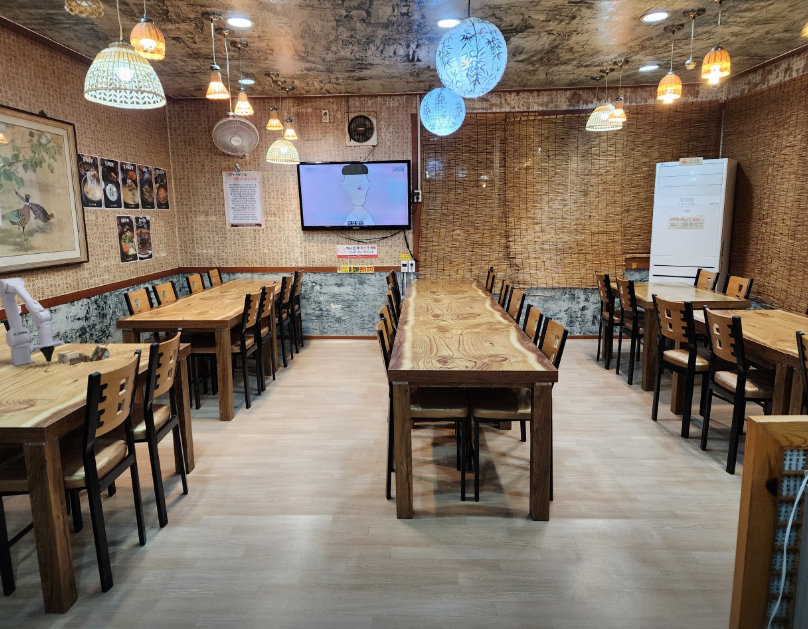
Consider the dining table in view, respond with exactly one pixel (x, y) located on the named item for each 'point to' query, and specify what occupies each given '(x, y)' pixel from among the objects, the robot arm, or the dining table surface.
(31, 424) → the dining table surface
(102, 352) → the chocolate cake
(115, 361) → the dining table surface
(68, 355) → the maple block
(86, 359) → the walnut stop
